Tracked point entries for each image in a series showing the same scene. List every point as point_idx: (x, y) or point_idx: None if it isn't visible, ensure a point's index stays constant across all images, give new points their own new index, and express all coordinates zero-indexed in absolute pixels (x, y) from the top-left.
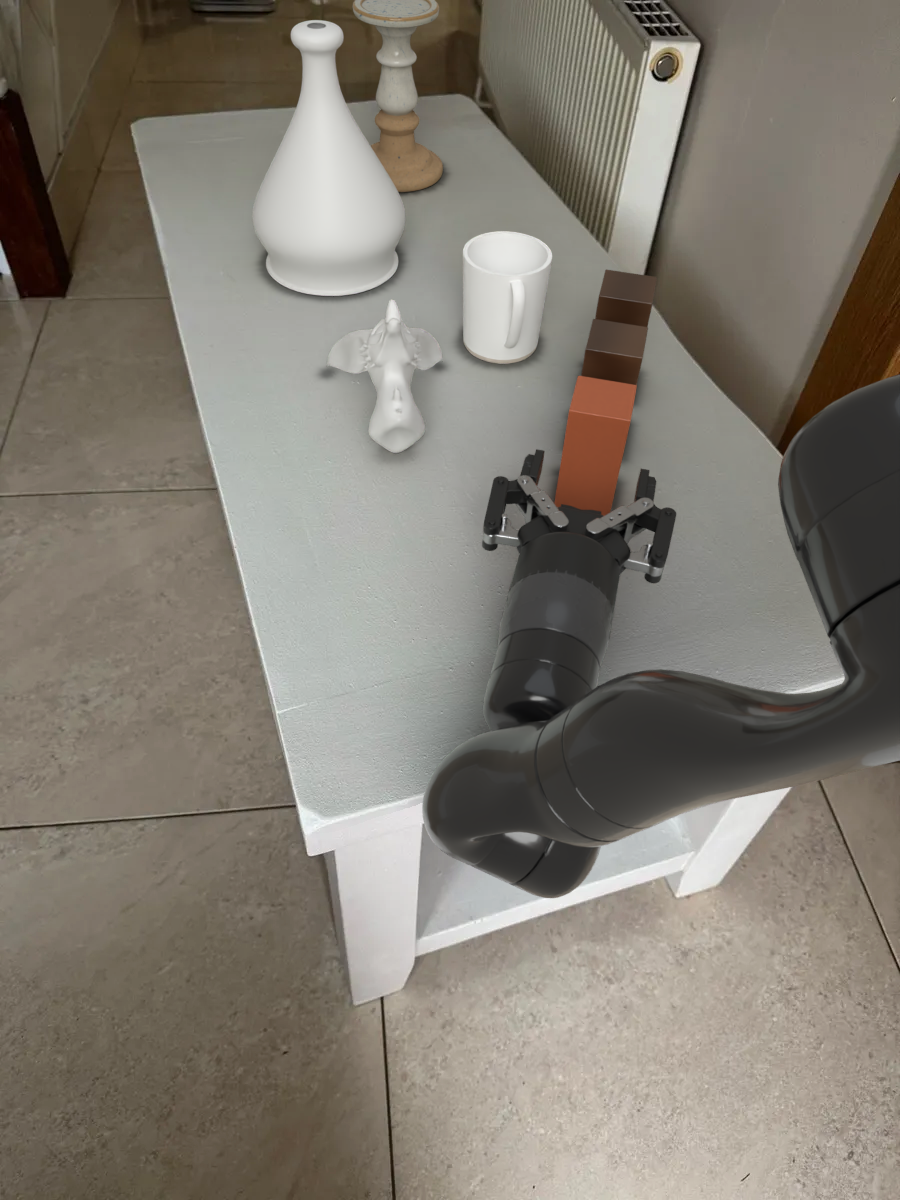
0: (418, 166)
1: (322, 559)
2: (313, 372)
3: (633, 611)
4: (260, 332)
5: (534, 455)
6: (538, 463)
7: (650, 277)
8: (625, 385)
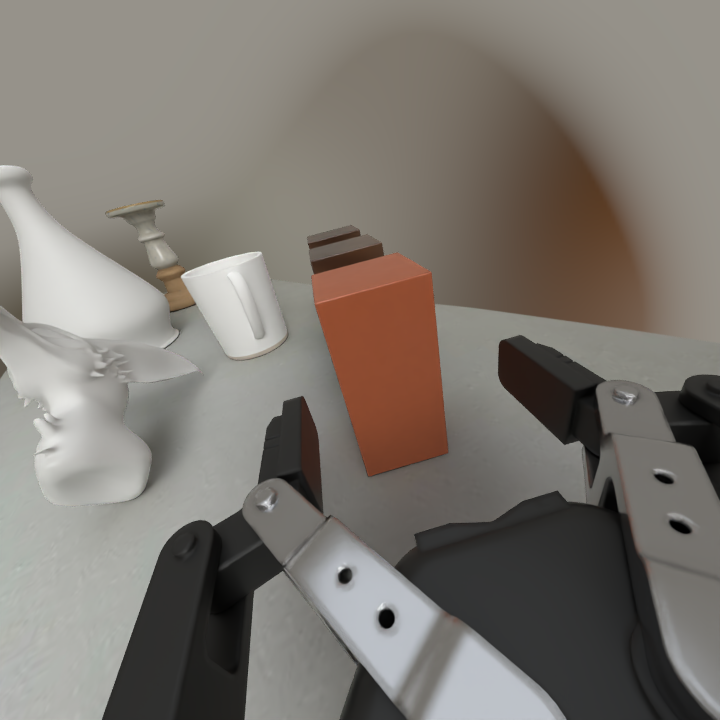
0: None
1: None
2: None
3: None
4: (28, 426)
5: (282, 415)
6: (295, 428)
7: (346, 226)
8: (383, 257)
